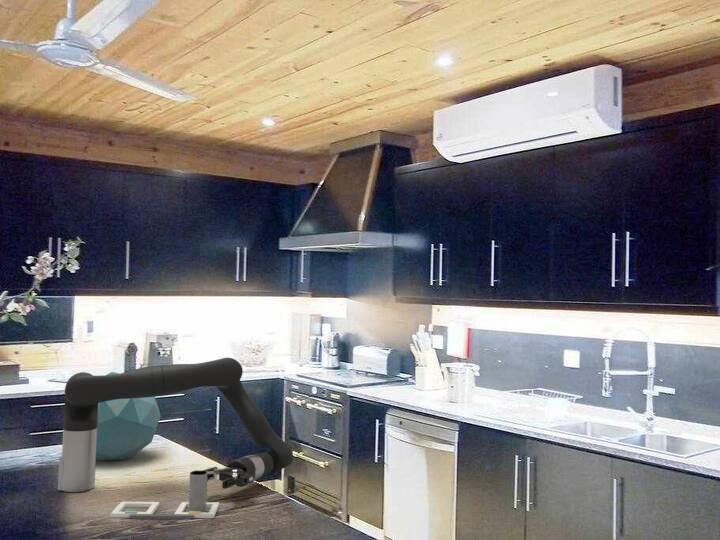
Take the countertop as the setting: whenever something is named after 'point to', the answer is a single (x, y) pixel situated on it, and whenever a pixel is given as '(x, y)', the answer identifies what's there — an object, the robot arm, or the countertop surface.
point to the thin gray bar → (161, 517)
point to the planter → (198, 491)
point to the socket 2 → (198, 514)
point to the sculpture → (125, 427)
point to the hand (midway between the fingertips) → (210, 482)
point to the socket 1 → (119, 514)
